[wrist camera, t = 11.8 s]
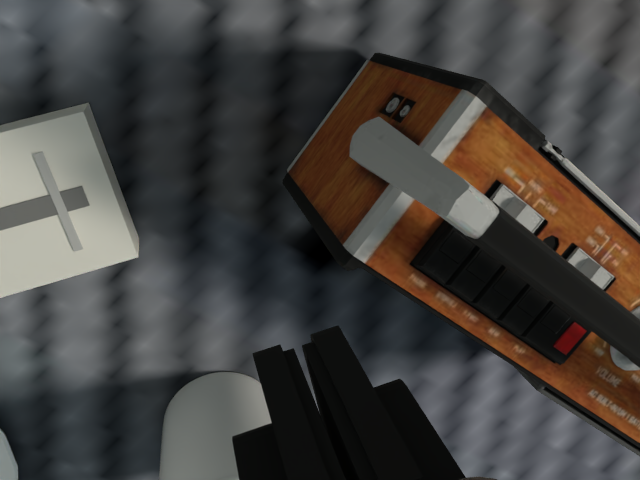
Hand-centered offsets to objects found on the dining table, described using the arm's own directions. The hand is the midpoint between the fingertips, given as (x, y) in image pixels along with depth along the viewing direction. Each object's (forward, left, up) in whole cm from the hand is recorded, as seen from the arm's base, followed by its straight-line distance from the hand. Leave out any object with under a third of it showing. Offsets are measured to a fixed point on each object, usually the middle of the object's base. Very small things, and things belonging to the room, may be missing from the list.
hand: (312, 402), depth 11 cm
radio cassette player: (+12, +16, -29) cm, 36 cm away
